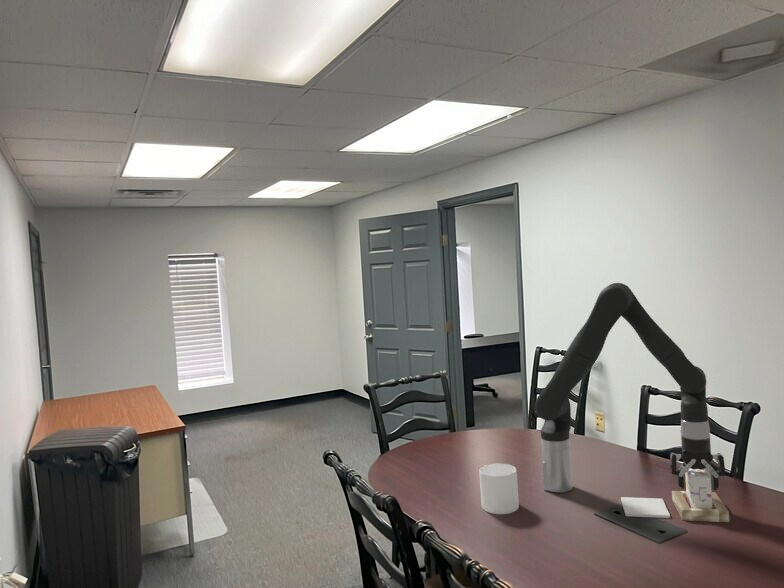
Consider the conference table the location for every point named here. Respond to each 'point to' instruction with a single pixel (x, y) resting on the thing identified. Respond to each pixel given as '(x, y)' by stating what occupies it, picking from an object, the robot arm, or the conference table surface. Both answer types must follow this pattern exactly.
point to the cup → (499, 488)
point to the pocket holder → (697, 514)
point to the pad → (645, 507)
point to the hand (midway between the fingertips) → (698, 488)
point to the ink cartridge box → (699, 488)
